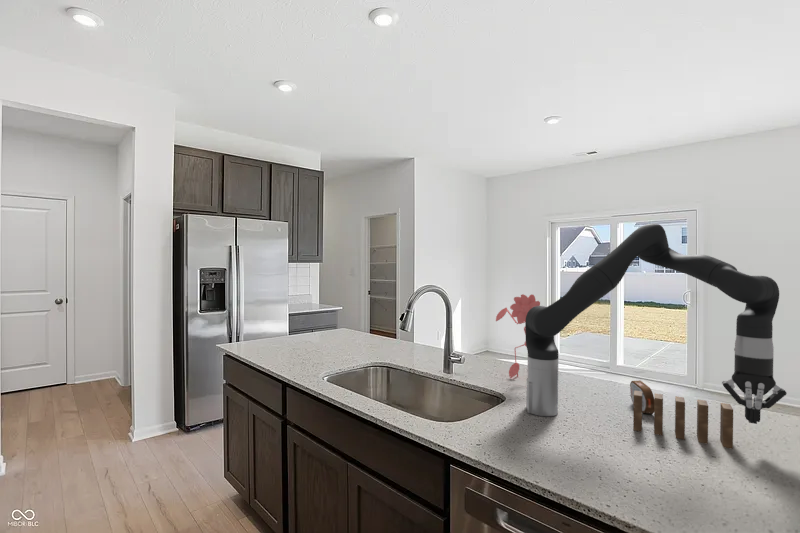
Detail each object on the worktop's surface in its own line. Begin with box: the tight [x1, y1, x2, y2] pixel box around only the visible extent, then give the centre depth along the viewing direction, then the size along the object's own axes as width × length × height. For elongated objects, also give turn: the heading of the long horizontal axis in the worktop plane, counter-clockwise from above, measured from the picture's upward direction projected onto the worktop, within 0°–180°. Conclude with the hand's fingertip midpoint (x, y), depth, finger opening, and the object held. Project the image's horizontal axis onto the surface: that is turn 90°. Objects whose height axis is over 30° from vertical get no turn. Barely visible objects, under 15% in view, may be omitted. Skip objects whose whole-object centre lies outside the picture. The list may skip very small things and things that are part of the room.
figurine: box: [495, 293, 541, 379], centre depth 167 cm, size 15×26×35 cm, turn 61°
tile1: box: [632, 390, 643, 433], centre depth 120 cm, size 2×5×10 cm, turn 149°
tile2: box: [653, 392, 664, 437], centre depth 117 cm, size 2×5×10 cm, turn 149°
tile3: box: [674, 396, 686, 441], centre depth 114 cm, size 2×5×10 cm, turn 149°
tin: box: [629, 380, 654, 415], centre depth 136 cm, size 15×3×8 cm, turn 168°
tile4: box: [696, 399, 709, 445], centre depth 112 cm, size 2×5×10 cm, turn 148°
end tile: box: [719, 402, 734, 450], centre depth 109 cm, size 2×5×10 cm, turn 149°
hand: (752, 422), depth 106 cm, fingers closed
